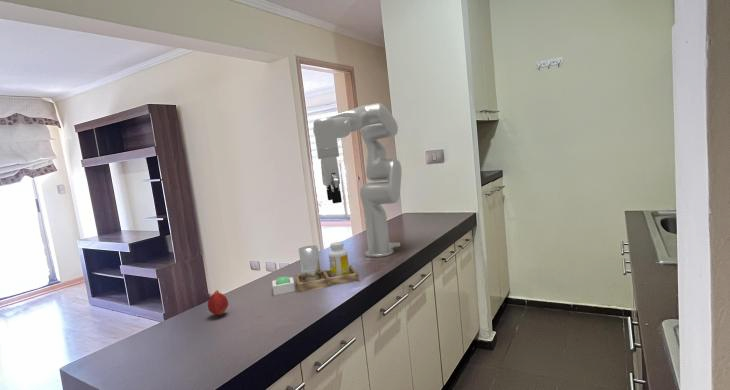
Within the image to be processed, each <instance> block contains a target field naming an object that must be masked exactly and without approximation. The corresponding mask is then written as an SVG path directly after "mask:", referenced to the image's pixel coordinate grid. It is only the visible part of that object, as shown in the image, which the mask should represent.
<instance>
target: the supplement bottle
mask: <svg viewBox="0 0 730 390" xmlns="http://www.w3.org/2000/svg"><path fill="white" fill-rule="evenodd" d="M329 245H330V246H329V247H330V249H331V250H330V251H329V252H328V260H329V261H328V262H329V268H330V269H329V270H331V277H337V276H343V275H348V274H350V272H349V266H350V264H349V257H348V256H349V255H348V251H347V249H345V248H344V242H342V241H338V242H332V243H330V244H329Z"/></svg>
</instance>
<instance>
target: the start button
mask: <svg viewBox="0 0 730 390" xmlns="http://www.w3.org/2000/svg"><path fill="white" fill-rule="evenodd" d="M289 278H290V277H289V276H288V275H287V276H285V275H283V276H279V277H277V278H276V280H277V285H279V284H284V283H289Z"/></svg>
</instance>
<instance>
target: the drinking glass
mask: <svg viewBox="0 0 730 390" xmlns="http://www.w3.org/2000/svg"><path fill="white" fill-rule="evenodd" d="M298 255H299V263H300V270H301V275H302V279H303V283H304V282H309V281H315V280H320V279H322V278H321V271H322V270H321V263H320V262H321V261H320V255H319V246H318V245H305V246H302V247H300V248H298Z"/></svg>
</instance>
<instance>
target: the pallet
mask: <svg viewBox="0 0 730 390" xmlns="http://www.w3.org/2000/svg"><path fill="white" fill-rule="evenodd" d="M349 272H350V274H348V275H343V276H337V277H331V270H330V269H326V270H325V269H324V270H321V278H322V279H320V280H315V281H309V282H304V283H303V279H302V274H295V275H294V278H295V286H296V288H297V292H298V293H303V292H307V291H315V290H319V289H324V288H330V287H336V286H340V285H346V284H351V283H352V284H353V283H357V282H360V275H359V273H358V272H357V270H356V269H355V268H354V266H352V265H349Z"/></svg>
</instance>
